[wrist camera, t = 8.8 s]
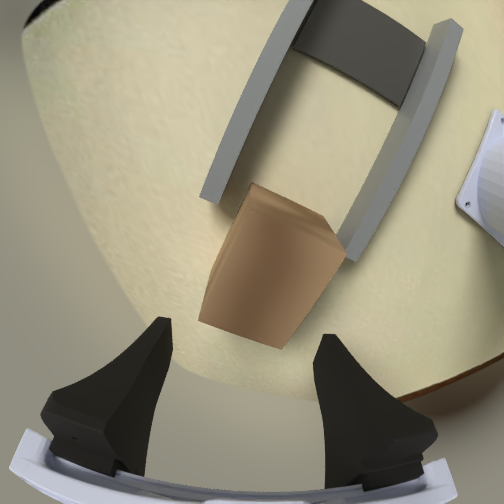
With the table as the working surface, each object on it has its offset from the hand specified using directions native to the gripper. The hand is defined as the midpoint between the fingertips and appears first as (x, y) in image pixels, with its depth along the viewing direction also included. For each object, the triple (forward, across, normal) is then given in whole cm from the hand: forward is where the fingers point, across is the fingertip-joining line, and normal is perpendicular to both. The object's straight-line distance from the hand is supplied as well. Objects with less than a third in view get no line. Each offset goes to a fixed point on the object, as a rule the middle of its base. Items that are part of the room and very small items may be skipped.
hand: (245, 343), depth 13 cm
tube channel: (+6, -4, -12) cm, 14 cm away
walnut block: (+6, -1, -3) cm, 6 cm away
